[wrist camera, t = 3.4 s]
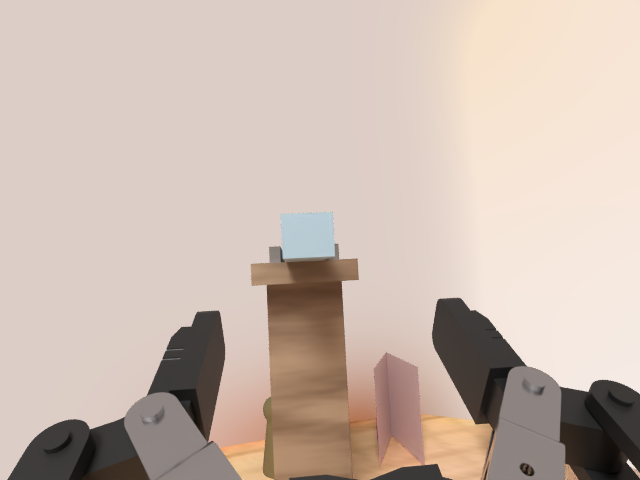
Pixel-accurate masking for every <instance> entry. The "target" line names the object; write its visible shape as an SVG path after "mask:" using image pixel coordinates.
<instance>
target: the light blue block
mask: <svg viewBox="0 0 640 480" xmlns="http://www.w3.org/2000/svg"><path fill="white" fill-rule="evenodd" d="M281 229H282V252H283V260H284V261H285V262H301V261H321V260H326V259H329V258H332V257H334V256H335V246H334V229H333V212H325V213H324V212H323V213H298V214H281Z"/></svg>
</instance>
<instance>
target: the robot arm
mask: <svg viewBox="0 0 640 480" xmlns="http://www.w3.org/2000/svg"><path fill="white" fill-rule="evenodd" d="M432 339H433V344H434V347H435V350H436V352H437V353H438V355H439V357H440V359H441V361H442V363H443V365H444V366H445V368H446V370H447V372H448V374H449V375H450V377H451V379H452V381H453V383H454V385H455V387H456V388H457V390H458V392H459V394H460V396H461V398H462V400H463V401H464V403H465V405H466V407H467V409H468V411H469V413H470V414H471V416H472V418H473V420H474V422H475V424H486V423H489V424H490V425H491V427H492V429H493V430H492V433H491V437H490V441H489V446H488V450H487V455H486V459H485V464H484V468H483V472H482V477H481V480H565V464H569V465H570V467H571V468H572V470H573V471H574V473H575V474H576V476H577V478H578V479H579V480H640V479H639V477H638V476H637V475H636V474H635V472H634V471H633V470H632V469H631V468H630V466H629V465H628V464H627V463H626V462H627V460H628V459H629V460H630V461H631V462H632V464H633V465H634V466H635V468H636V469H637V470H638V471H639V472H640V394H639V393H637V392H636V391H634V390H633V389H631V388H629V387H627V386H625V385H623V384H620V383H617V382H614V381H609V380H598V381H595V382H593V383H592V385H591V387H590V390H589V392H585V391H580V390H574V389H569V388H563V387H559V385H558V384H557V382H556V381H555V380H554V379H553V378H552V377H550V376H549V375H548V374H546V373H544V372H542V371H540V370H538V369H535V368H532V367H527V366H526V365H525V363H524V362H523V361H522V360H521V359H520V357H519V356H518V355H517V354H516V353H515V351H514V350H513V349H512V348H511V346H510V345H509V344H508V343H507V342H506V340H505V339H503V337H502V335H501V334H500V333H499V332H498V331H496V328H495V327H494V326H493V324H492V323H491V322H490V321H489V320H488V319H487V318H486V317H484V316H483V315H481V314H480V313H479V312H477V311H476V310H474V311H470V309H469V308H468V307H467V306H466V304H465V303H464V302H463V300H462V299H461V298H446V299H439V300H438V301H437V306H436V312H435V318H434V324H433V331H432ZM224 360H225V344H224V337H223V330H222V323H221V317H220V312H219V311H204V312H197V314H196V315H195V318H194V321H193V324H192V327H181V328H180V329H179V330H178V331H177V332H176V333H175V334H174V336H172V337H171V339H170V342H169V345H168V347H167V351H166V352H165V354H164V356H163V360H162V361H161V363H160V366H159V368H158V371H157V373H156V375H155V378H154V380H153V382H152V385H151V387H150V389H149V392H148V394H147V396H146V397H143V398H142V399H140V400H139V401H137V402H136V403H135V404H134V405H133V406H132V407H131V408H130V409H129V410H128V412H127V414H126V416H125V417H124V418H122V419H120V420H117V421H115V422H111V423H109V424H105V425H102V426H100V427H96V428H93V429H89V426H88V425H87V423H85V422H84V421H81V420H76V419H74V420H66V421H62V422H59V423H57V424H55V425H53V426H51V427H49V428H47V429H46V430H44V431H43V432H41V433H40V434H39V435H38V436H37V437H35V438H34V439H33V441H32V442H31V443H30V444H29V446H28V447H27V449H26V450H25V452H24V454H23V455H22V457H21V458H20V460H19V462H18V463H17V465H16V467H15V468H14V470H13V471H12V473H11V475H10V476H9V478H8V480H242V479H241V478H240V476H239V475H238V474H237V472H236V471H235V469H234V468H233V466H232V465H231V464H230V462H229V461H228V459H227V458H226V457H225V455H224V454H223V452H222V451H221V450H220V448H219V447H218V445H217V444H216V443H214V442H213V441H211V442H209V443H208V440H209V435H210V430H211V425H212V420H213V415H214V411H215V405H216V400H217V396H218V391H219V386H220V381H221V376H222V371H223V366H224ZM289 480H356V479H350V478H344V477H338V476H333V475H327V474H326V475H315V476H304V477H293V478H289ZM371 480H452V479H449V478H444V477H442V475H441V472H440V470H439V467H438V464H433V465H423V466H412V467H402V468H399V469H397V470H394V471H391V472H389V473H386V474H384V475H381V476H379V477H376V478H374V479H371Z"/></svg>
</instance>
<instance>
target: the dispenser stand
mask: <svg viewBox="0 0 640 480" xmlns="http://www.w3.org/2000/svg"><path fill="white" fill-rule="evenodd" d="M334 246H335V256H334V257H332V258H329V259H326V260H321V261H301V262H285V261H284V260H283V252H282V249H281V247H269V254H270V263H260V264H251V280H252V286H253V285H267V303H268V326H269V327H268V329H269V352H270V353H269V355H270V380H271V405H272V431H273V456H274V480H289V478H293V477H304V476H315V475H326V474H327V475H333V476H338V477H344V478H350V479H352V461H351V443H350V425H349V407H348V389H347V373H346V372H347V371H346V355H345V354H346V353H345V335H344V317H343V299H342V281H346V280H359V279H358V278H359V277H358V262H357V259H342V260H339V251H338V250H339V249H338V244H334Z"/></svg>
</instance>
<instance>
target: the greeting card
mask: <svg viewBox="0 0 640 480" xmlns="http://www.w3.org/2000/svg"><path fill="white" fill-rule="evenodd" d="M374 380H375V396H376V412H377V438H378V445H379V461H380V467H381V464H382V461H383V458H384V455H385V452H386V450H387V447H388V444H389V441H390V438H391V435H392V436H393V437H394V438H395V439H396V440H397V441H398V442H399V443H400V444H401V445H402V446H403V447H405V448H406V449H407V450H408V451H409V452H410V453H411V454H412V455H413V456H414V457H415V458H416V459H417V460H418V461H419V462H420V463H421V464H422V465H424V452H423V438H422V424H421V409H420V395H419V381H418V368H417V367H416V366H414V365H412V364H410V363H408V362H405V361H403V360H401V359H399V358H397V357H395V356H393V355H391V354H388V353H385V355H384V356H383V358H382V359H381V360H380V361H379V363H378V364H377V366H376V367H375V368H374Z"/></svg>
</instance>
